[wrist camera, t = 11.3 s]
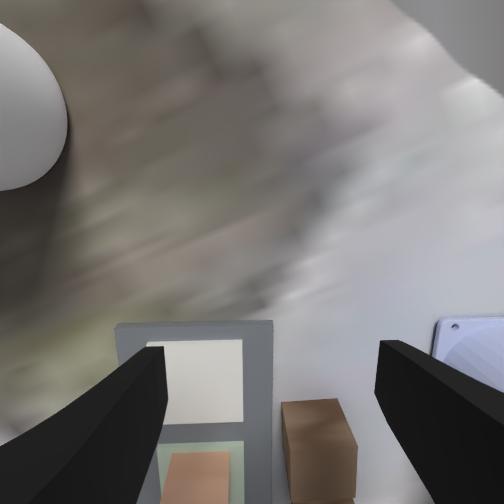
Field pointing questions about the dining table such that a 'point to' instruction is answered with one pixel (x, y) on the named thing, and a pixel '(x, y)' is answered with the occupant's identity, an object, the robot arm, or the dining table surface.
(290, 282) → the dining table surface
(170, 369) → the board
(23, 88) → the cup
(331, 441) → the walnut cube
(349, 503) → the walnut cube
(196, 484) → the tan short square block
